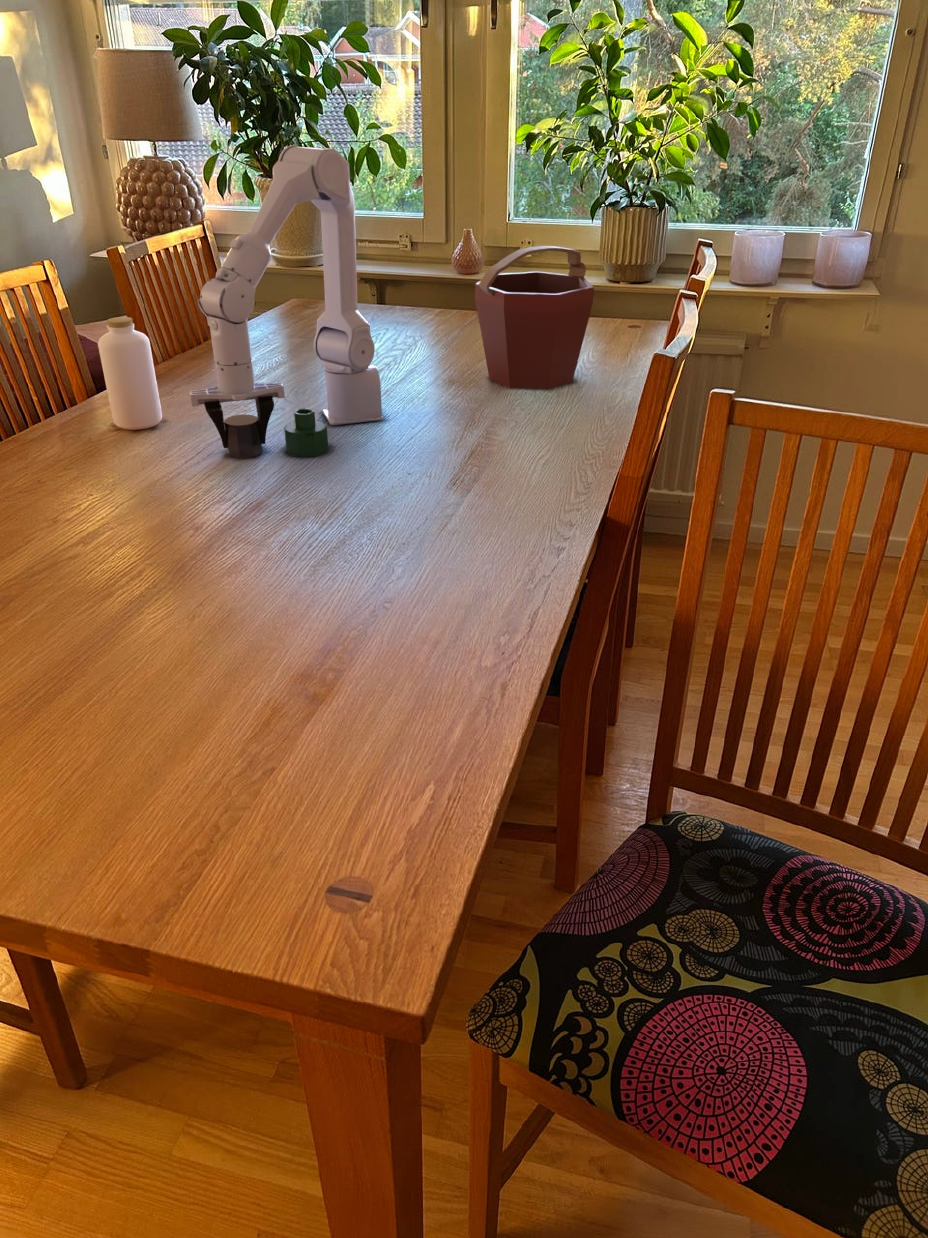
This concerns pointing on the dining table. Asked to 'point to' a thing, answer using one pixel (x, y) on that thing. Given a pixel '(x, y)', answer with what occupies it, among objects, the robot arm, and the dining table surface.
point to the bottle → (306, 435)
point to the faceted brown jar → (243, 436)
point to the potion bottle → (129, 375)
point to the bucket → (533, 321)
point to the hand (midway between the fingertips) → (243, 444)
